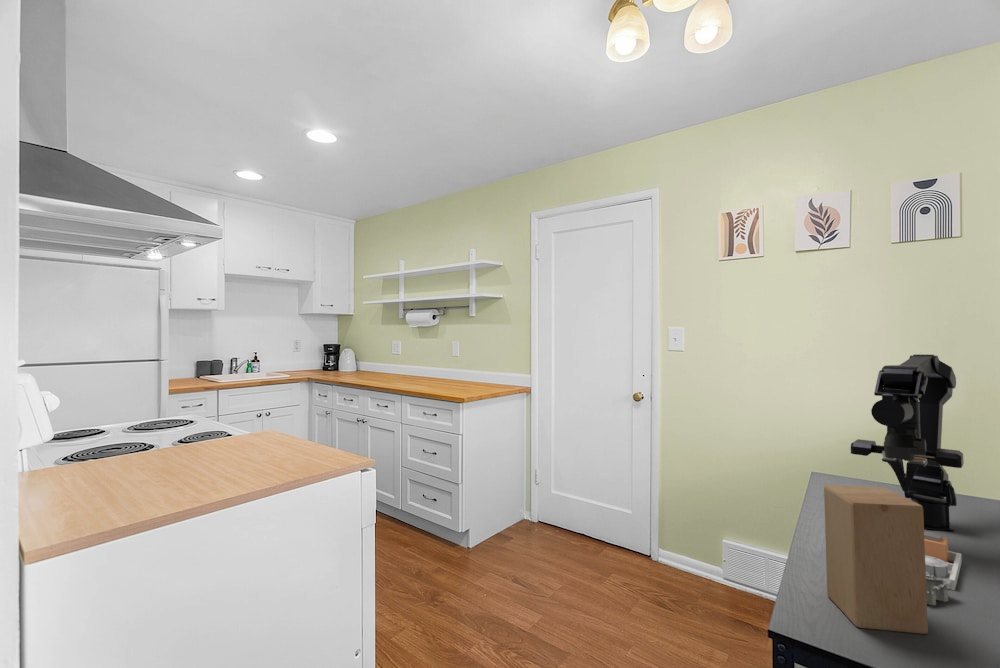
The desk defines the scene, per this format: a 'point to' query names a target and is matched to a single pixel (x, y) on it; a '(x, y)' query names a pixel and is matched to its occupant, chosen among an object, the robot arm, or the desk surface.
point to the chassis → (953, 569)
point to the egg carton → (936, 589)
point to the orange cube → (936, 546)
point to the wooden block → (876, 558)
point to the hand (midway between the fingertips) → (905, 491)
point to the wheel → (936, 567)
